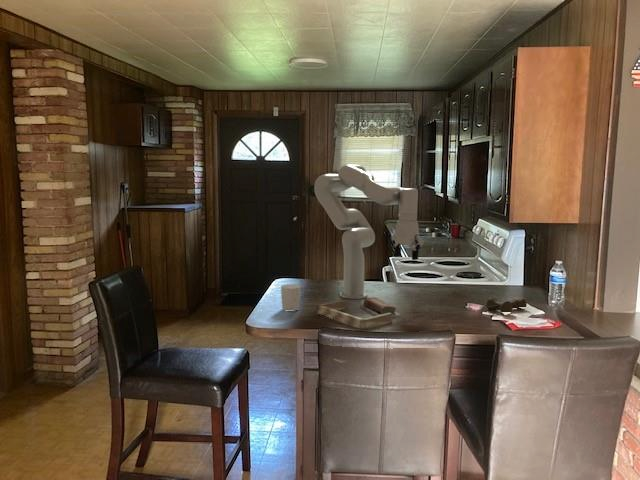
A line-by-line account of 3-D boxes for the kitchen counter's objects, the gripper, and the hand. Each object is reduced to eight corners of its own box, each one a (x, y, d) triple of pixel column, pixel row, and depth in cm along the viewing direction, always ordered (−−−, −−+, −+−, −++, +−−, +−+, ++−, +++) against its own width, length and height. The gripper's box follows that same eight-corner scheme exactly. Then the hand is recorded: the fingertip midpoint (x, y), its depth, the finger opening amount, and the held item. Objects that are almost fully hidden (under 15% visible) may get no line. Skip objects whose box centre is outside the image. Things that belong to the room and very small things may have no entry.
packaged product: (359, 297, 222) (379, 295, 226) (358, 308, 222) (379, 306, 226) (379, 307, 205) (401, 305, 209) (379, 319, 206) (401, 317, 210)
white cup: (302, 308, 220) (302, 285, 219) (295, 313, 213) (295, 289, 212) (285, 306, 223) (285, 283, 222) (278, 311, 216) (277, 287, 214)
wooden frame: (316, 313, 212) (316, 305, 212) (344, 307, 222) (344, 299, 221) (363, 329, 192) (363, 320, 191) (391, 322, 201) (392, 313, 201)
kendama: (531, 313, 219) (495, 317, 210) (513, 308, 227) (478, 312, 218) (532, 298, 218) (496, 302, 209) (514, 294, 227) (479, 297, 218)
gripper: (386, 216, 224) (385, 255, 226) (417, 220, 211) (415, 261, 213) (398, 215, 229) (397, 254, 231) (429, 219, 215) (428, 260, 218)
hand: (406, 257), depth 222 cm, fingers open, 9 cm apart
